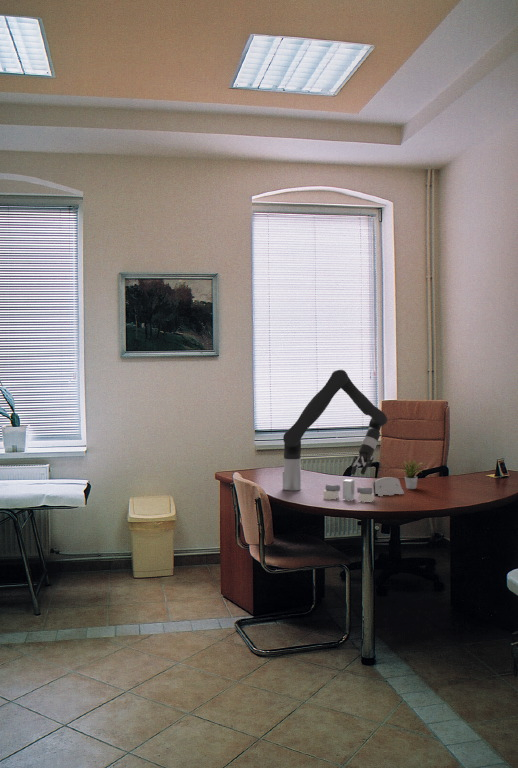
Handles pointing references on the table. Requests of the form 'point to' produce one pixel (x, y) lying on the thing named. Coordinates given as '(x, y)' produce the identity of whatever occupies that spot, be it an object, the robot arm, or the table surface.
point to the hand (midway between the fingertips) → (357, 474)
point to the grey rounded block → (387, 486)
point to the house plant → (411, 475)
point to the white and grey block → (365, 494)
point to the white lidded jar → (331, 491)
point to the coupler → (348, 489)
